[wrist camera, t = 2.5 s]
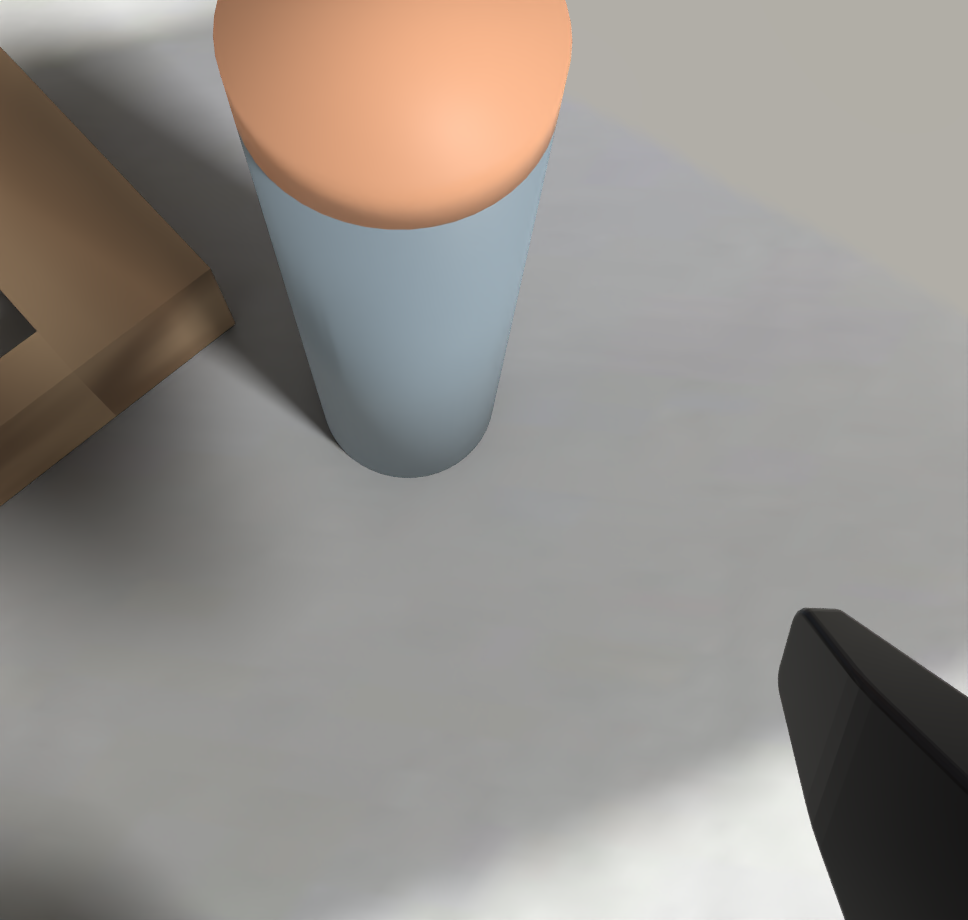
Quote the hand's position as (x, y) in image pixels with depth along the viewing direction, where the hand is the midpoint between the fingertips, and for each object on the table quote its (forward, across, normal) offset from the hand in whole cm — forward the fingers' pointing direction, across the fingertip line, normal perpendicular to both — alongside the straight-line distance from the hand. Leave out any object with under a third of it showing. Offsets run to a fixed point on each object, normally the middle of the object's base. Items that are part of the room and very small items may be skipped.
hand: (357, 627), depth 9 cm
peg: (+14, 0, +4) cm, 15 cm away
